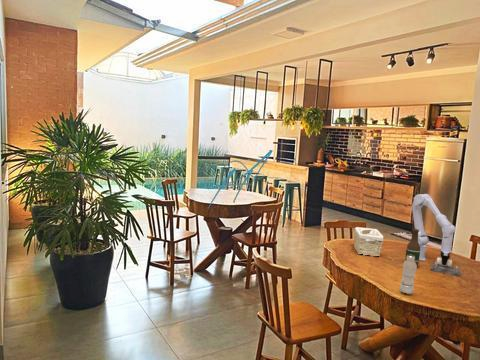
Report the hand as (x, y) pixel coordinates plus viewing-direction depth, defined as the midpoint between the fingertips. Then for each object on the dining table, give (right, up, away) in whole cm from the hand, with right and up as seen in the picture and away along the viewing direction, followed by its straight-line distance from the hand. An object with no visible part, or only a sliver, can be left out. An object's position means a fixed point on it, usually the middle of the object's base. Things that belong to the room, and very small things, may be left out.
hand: (443, 263), depth 235 cm
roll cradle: (-4, -2, -9) cm, 10 cm away
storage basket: (-43, +3, +21) cm, 48 cm away
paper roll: (0, -2, 0) cm, 2 cm away
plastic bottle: (-46, -4, -47) cm, 66 cm away
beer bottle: (-23, -1, -4) cm, 23 cm away
